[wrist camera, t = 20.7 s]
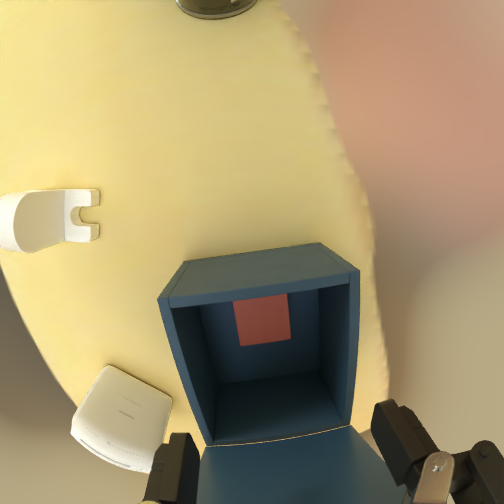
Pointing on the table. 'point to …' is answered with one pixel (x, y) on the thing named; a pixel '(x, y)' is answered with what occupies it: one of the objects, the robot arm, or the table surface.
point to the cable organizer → (45, 218)
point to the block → (262, 319)
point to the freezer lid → (298, 472)
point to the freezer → (265, 354)
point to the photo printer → (122, 420)
